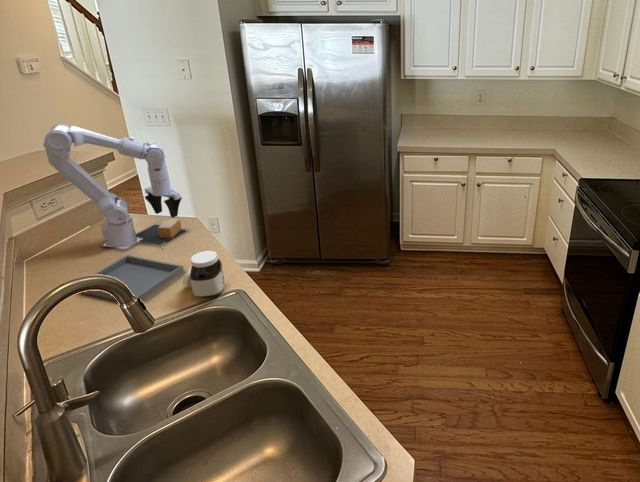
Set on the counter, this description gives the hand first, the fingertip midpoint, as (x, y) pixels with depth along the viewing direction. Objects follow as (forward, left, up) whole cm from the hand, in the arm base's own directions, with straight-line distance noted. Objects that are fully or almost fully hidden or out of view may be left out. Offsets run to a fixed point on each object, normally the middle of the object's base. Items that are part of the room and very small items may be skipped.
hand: (166, 214), depth 154 cm
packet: (0, 0, -8) cm, 8 cm away
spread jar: (+35, -25, -8) cm, 44 cm away
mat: (-4, -2, -8) cm, 9 cm away
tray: (+12, -28, -8) cm, 32 cm away
